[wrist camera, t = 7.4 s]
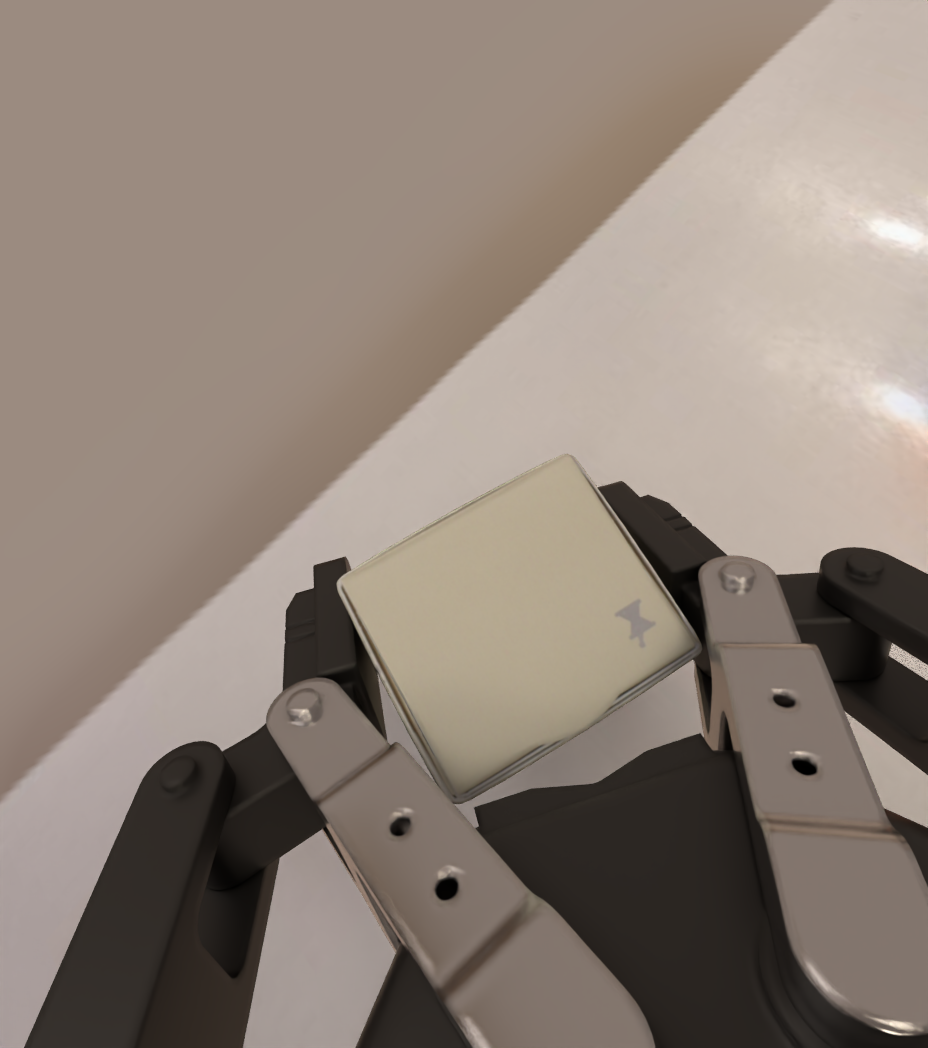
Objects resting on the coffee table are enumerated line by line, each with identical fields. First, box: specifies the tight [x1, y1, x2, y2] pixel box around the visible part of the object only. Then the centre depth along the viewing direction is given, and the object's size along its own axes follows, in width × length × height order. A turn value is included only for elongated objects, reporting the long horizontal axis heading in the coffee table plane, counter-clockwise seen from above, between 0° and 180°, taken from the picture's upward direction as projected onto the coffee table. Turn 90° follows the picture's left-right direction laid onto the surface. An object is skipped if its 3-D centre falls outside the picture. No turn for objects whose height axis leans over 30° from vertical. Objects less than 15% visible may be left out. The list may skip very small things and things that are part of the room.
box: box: [337, 454, 702, 804], centre depth 16 cm, size 5×4×13 cm
